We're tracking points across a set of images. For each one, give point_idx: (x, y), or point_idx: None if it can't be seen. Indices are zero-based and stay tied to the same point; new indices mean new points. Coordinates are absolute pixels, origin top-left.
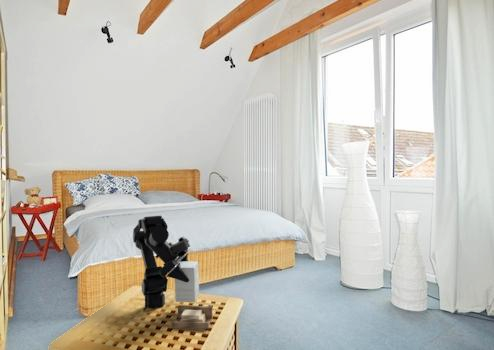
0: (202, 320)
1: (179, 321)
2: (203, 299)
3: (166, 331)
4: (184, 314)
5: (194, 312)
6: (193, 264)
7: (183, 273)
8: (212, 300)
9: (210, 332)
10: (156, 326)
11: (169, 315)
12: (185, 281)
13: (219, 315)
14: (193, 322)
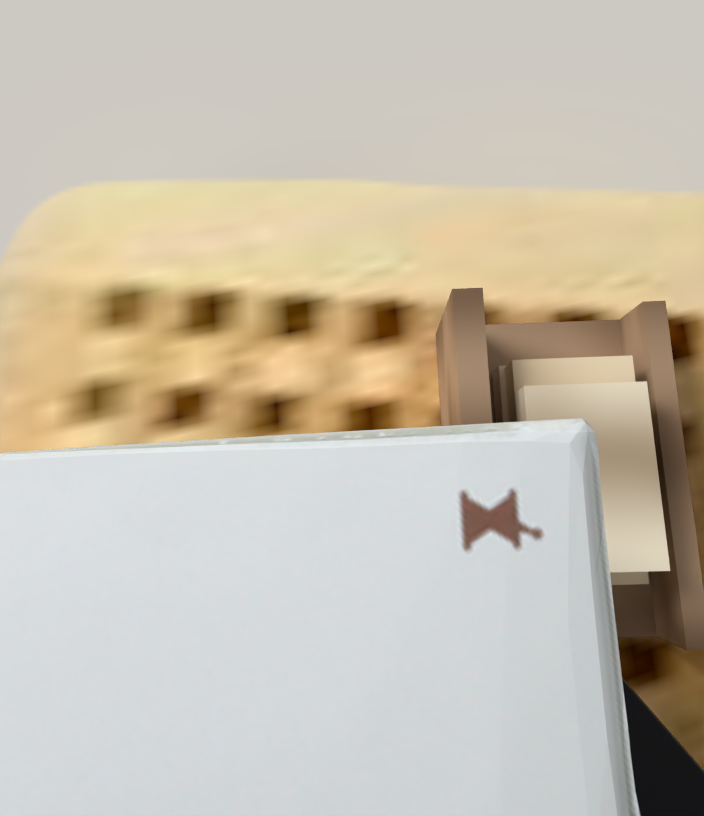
0: (628, 358)
1: (684, 574)
2: None
3: (680, 680)
4: (651, 540)
5: None
6: (201, 559)
7: (672, 783)
8: (60, 416)
9: (626, 307)
10: None
11: None
12: None
13: (347, 295)
14: (675, 432)
